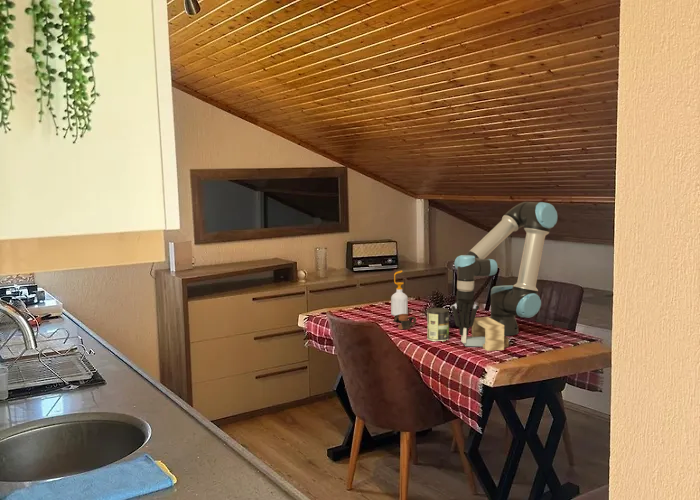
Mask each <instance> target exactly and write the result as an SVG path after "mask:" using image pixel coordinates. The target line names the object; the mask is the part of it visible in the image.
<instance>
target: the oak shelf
mask: <svg viewBox="0 0 700 500" xmlns="http://www.w3.org/2000/svg"><path fill="white" fill-rule="evenodd" d="M471 336H472V337H485V344H483V346H482V349H483V350H484V351H487V352H492V351H504V350H505V349H506V348H509V346H510V345H509V341H510V339H509V337H508V336H504V325H503V324H501V323H499V322H497V321H495V320H493V319H491V318H490V317H489V316H482V317H481V316H480V317H475V319H474V323H473V326H472V327H471Z"/></svg>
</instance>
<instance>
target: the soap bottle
mask: <svg viewBox="0 0 700 500" xmlns="http://www.w3.org/2000/svg"><path fill="white" fill-rule="evenodd" d="M401 273H403V270H399V271H396V272H394V274H393V282H394V284H395V285H396V286H397V287H396V291H395V292H394V293H393V294H392V295H391V296H390V315H392V316H396V315H399V314H408V313H409V311H408V310H409V309H408V308H409V307H408V303H409V301H408V300H409V299H408V298H409V297H408V295H407V294H406V293H405V292H403V287H402V285H404V281H401V282H399V281H397V282H396V275H397V274H401ZM408 315H409V314H408Z"/></svg>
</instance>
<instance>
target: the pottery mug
mask: <svg viewBox="0 0 700 500" xmlns="http://www.w3.org/2000/svg"><path fill="white" fill-rule="evenodd" d="M393 316H394V315H393ZM392 322H393V323H395V324H397V323H398V324H399V325H398V326H397V327H398V328H397V329H398V330H410V328H412V327H413V326H414V325H415V324H416V323H417V318H416V316H409V314H399V315H396V316H394V319H393V321H392Z"/></svg>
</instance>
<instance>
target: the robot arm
mask: <svg viewBox="0 0 700 500" xmlns="http://www.w3.org/2000/svg"><path fill="white" fill-rule="evenodd" d="M501 217H502V218H501V220H500V221H499V222H498V223H497V224H496V225H495V226H494V227H493V228H492V229H491V230H490V231H489V232H488V233H487V234H486V235H485V236H483V237H482V239H481V240H479V241H478V242H477V243H476V244H475V245H474V246H473V247H472V248H471V249H470V250H468V252H466V253H465V254H461V255H458V256H456V258H455V260H454V263H453V264H454V267H455V269H456V270H457V272H456V273H457V279H456V289H457V290H456V300H455V302H454V304H451V305H450V308H451V310H452V315H453V318H454V324H455V326H456V327H458V328H459V335H460V336H461V337H460V339H461V341H460V342H461V343H462V344H463V343H466V336H468V335H469V329H470V327H471V328H472V326H473V323H474V319H475V318H476V315H477V312H478V310H479V309H480V305H477V304H476V303H475V301H474V299H475V298H474V296H475V291H474V290H475V278H476V277H490V276H494V275H496V274H497V272H498V262H497V261H496V259H491V258H487V257H488V256H489V255H490V254H492V252H493V251H494V250H495V249H496V248H497V247H498V246H499V245H500V244H501V243H503V241H505V240H506V239H507V238H508V237H509V236H510V235H511V234H512V233H513V232H517V231H519V229H521V228H522V227H523V230H524V231H525V233H526V234H525V238H524V239H525V240H524V245H523V249H522V256H521V259H520V260H521V261H520V266H519V271H518V276H517V281H516V282H515V284H513V285H512V284H511V285H497V286H496V285H495V286H493V287H492V288H491V289H490V317H489V318H491V319H493V320H495V321H497V322H499V323H501V324H503V325H504V336H505V337H509V336H510V337H511V336H515V335H518V334H519V325H518V322H517V319H516V316H518V317H520V318H532V317H535V316H536V315H537V314H538V313H539V312H540V310H541V307H542V300H541V297H540V295H539V294H538V292H539V289H538V288H537V282H538V276H539V270H540V265H541V261H542V255H543V250H544V244H545V240H546V236H547V235H549V234H550V231H551V229H552V228H554V227H555V226H556V224H557V222H558V218H559V217H558V211H557V210H556V208H555V206H554V205H553V204H551V203H548V202H543V201H522V202H520V203H517V204H516V205H515V206H513V207H512V208H511V209H509V210H508V211H507V212H506V213H505V214H504V215H503V216H501ZM486 258H487V259H486ZM457 309H458V310H459V311H458V310H457ZM471 309H472V310H471ZM458 312H459V314H458Z"/></svg>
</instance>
